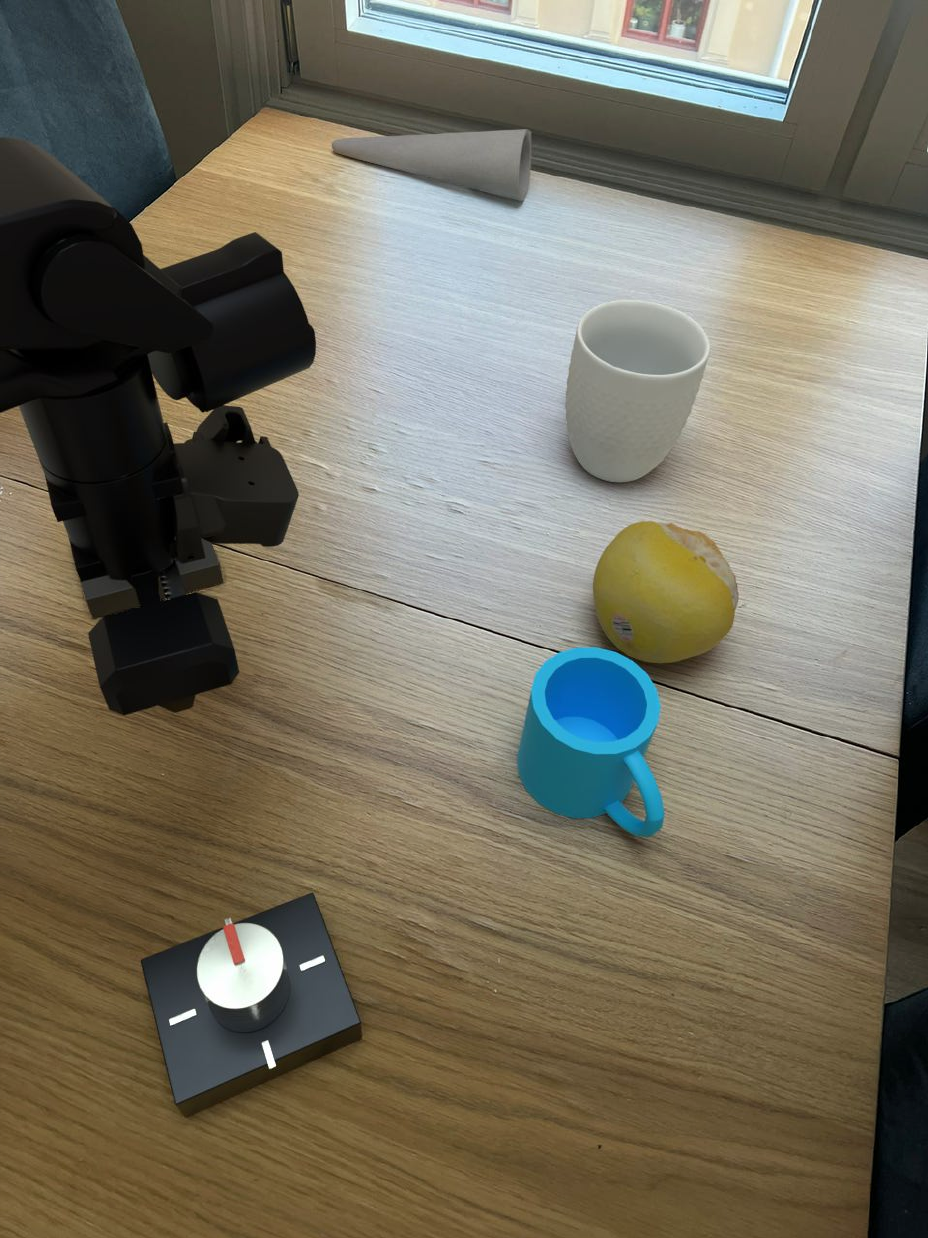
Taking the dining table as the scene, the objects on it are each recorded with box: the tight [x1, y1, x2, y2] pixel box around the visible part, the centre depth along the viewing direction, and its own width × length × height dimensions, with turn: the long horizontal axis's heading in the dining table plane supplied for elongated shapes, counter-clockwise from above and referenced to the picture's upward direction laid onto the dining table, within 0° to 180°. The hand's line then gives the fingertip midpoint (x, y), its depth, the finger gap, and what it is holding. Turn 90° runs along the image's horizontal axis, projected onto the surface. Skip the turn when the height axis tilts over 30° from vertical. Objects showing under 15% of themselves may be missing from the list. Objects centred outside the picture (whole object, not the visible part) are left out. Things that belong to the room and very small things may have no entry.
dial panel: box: [140, 892, 363, 1118], centre depth 52 cm, size 10×9×3 cm
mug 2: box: [516, 646, 665, 838], centre depth 61 cm, size 12×8×8 cm
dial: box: [196, 922, 290, 1032], centre depth 49 cm, size 4×4×4 cm
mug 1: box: [564, 299, 711, 483], centre depth 82 cm, size 15×11×13 cm
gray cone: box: [331, 128, 532, 202], centre depth 116 cm, size 8×9×26 cm
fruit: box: [592, 520, 740, 664], centre depth 69 cm, size 10×11×10 cm
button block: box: [68, 538, 224, 620], centre depth 72 cm, size 10×8×4 cm
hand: (165, 647), depth 55 cm, fingers open, 9 cm apart
